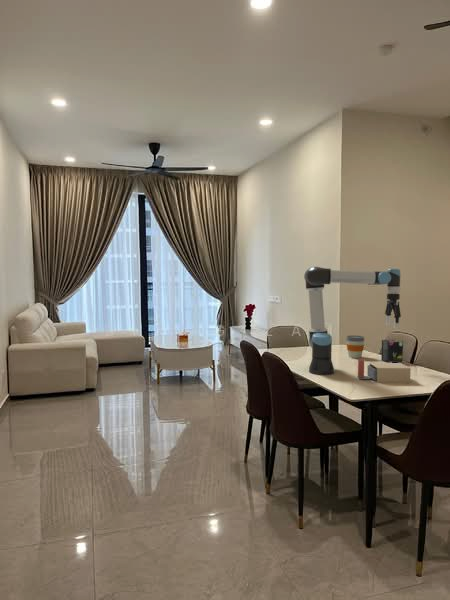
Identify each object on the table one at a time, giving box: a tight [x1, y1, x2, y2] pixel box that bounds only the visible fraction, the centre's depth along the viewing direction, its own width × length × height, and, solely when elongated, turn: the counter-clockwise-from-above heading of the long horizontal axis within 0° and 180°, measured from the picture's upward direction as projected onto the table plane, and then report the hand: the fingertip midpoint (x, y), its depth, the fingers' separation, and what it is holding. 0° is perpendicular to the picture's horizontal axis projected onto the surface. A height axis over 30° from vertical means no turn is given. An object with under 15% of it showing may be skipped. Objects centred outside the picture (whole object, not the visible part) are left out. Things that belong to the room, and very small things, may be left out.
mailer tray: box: [357, 359, 377, 381], centre depth 252 cm, size 24×12×10 cm, turn 88°
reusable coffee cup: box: [346, 335, 365, 359], centre depth 320 cm, size 12×13×15 cm
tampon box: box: [380, 339, 404, 363], centre depth 304 cm, size 11×9×15 cm
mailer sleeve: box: [369, 362, 412, 383], centre depth 252 cm, size 18×15×8 cm
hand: (392, 327), depth 279 cm, fingers open, 13 cm apart
